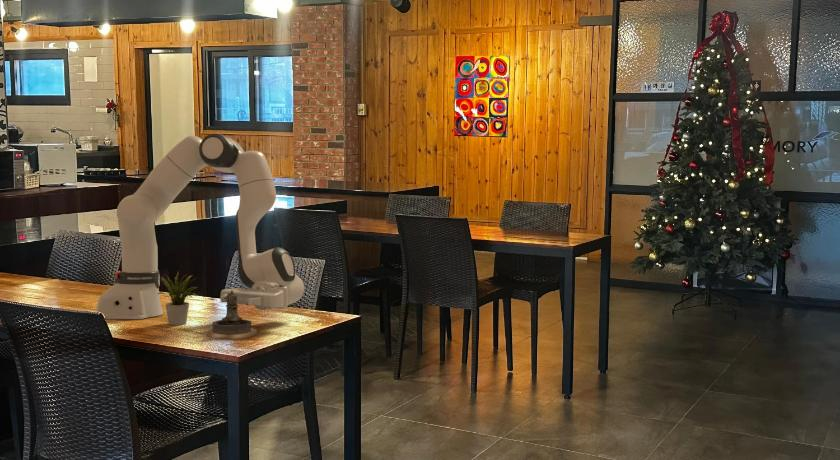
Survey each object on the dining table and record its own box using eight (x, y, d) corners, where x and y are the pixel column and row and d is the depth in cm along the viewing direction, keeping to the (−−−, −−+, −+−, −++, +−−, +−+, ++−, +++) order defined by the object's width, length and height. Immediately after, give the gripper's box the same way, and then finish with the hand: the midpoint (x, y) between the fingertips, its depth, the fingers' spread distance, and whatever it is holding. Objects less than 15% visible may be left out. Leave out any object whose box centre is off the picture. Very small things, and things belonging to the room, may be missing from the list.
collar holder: (207, 339, 262) (207, 327, 261) (207, 330, 275) (207, 318, 275) (257, 338, 265) (257, 326, 264) (255, 329, 278) (255, 317, 278)
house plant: (152, 329, 275) (152, 274, 274) (146, 321, 288) (146, 269, 287) (201, 326, 281) (201, 273, 280) (193, 319, 294) (193, 267, 292)
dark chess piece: (239, 333, 267) (239, 291, 266) (219, 332, 267) (218, 291, 266) (244, 329, 273) (244, 288, 272) (225, 328, 273) (225, 288, 272)
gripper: (238, 282, 287) (207, 287, 275) (291, 287, 277) (262, 293, 265) (238, 302, 288) (207, 308, 275) (291, 308, 278) (262, 314, 266)
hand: (234, 300), depth 270 cm, fingers open, 8 cm apart
